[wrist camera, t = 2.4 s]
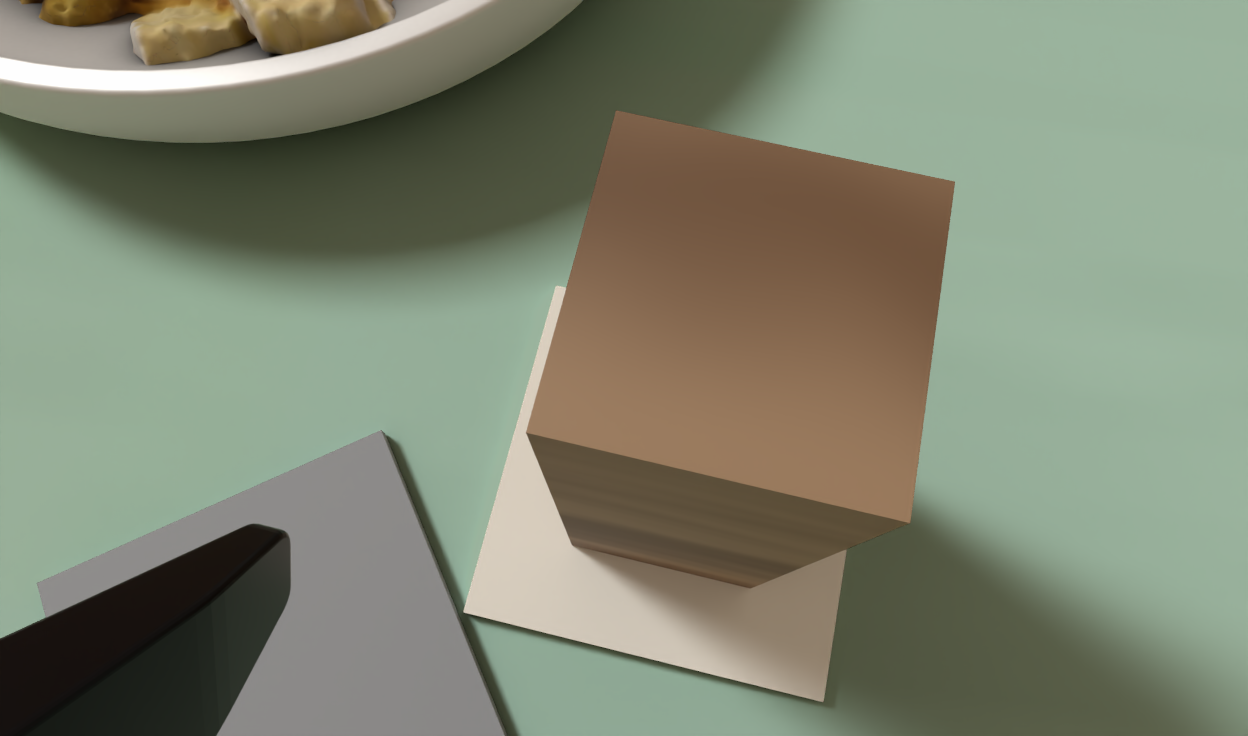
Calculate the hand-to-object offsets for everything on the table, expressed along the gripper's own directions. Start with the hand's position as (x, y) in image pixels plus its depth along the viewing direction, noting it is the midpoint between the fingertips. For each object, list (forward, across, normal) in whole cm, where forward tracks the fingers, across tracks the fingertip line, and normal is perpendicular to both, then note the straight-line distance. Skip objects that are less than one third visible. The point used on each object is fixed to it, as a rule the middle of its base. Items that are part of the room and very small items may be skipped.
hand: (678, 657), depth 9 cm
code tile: (+12, 0, +6) cm, 13 cm away
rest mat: (+7, +8, +11) cm, 15 cm away
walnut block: (+12, 0, +6) cm, 13 cm away
